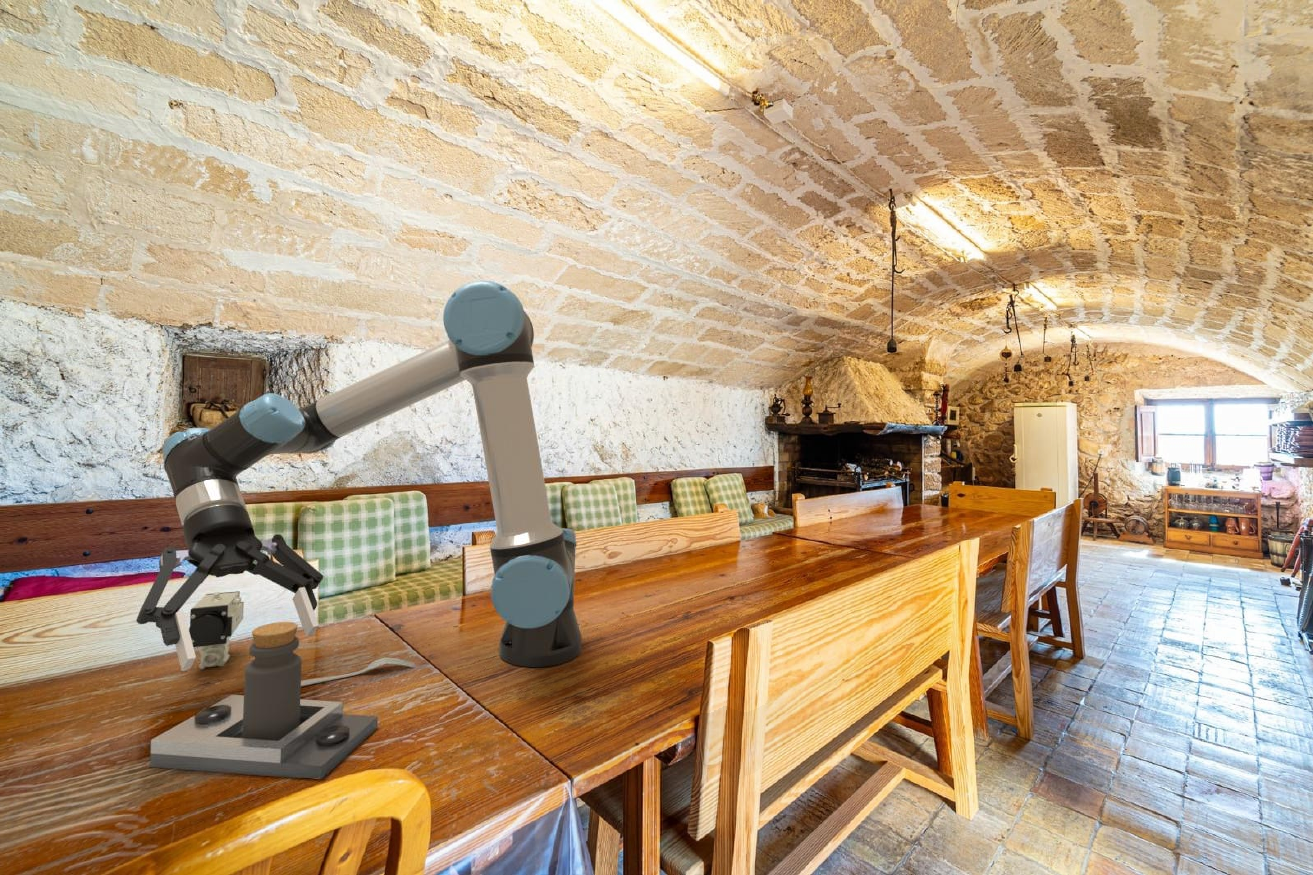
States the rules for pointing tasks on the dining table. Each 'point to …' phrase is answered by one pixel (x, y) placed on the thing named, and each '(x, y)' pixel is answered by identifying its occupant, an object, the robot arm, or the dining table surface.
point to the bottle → (272, 683)
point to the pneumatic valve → (215, 626)
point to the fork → (371, 666)
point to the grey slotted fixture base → (262, 742)
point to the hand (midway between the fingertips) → (255, 646)
